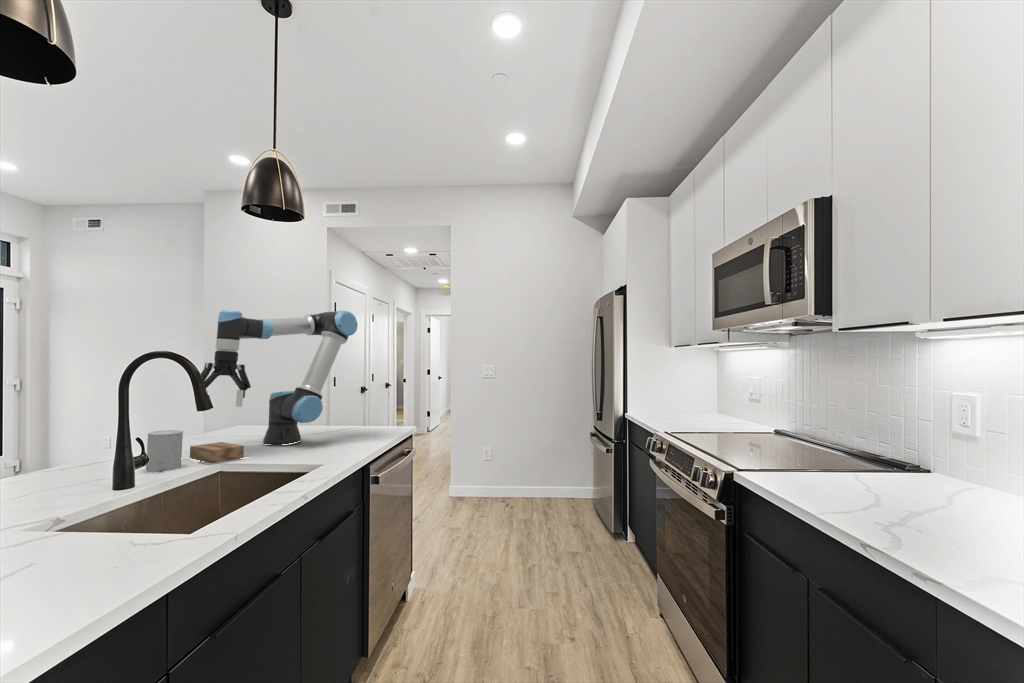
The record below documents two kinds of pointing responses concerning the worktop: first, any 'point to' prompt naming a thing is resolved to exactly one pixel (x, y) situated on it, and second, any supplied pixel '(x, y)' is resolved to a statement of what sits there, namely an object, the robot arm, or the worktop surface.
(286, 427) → the robot arm
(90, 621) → the worktop surface
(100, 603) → the worktop surface
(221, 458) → the board
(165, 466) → the grey speckled cylinder
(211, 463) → the mat
